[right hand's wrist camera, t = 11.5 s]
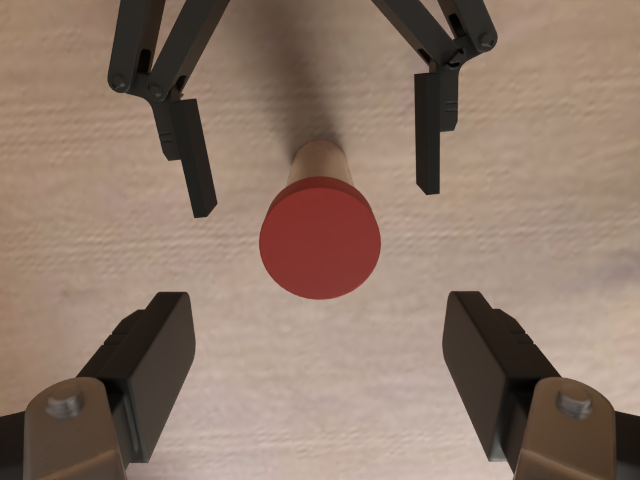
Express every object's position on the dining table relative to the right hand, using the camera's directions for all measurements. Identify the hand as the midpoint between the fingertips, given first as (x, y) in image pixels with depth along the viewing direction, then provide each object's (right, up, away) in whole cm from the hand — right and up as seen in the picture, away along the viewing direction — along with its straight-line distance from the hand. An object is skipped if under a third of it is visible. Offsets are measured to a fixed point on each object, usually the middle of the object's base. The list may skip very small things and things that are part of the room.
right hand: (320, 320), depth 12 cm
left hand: (0, +5, +14) cm, 14 cm away
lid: (0, +2, +5) cm, 6 cm away
